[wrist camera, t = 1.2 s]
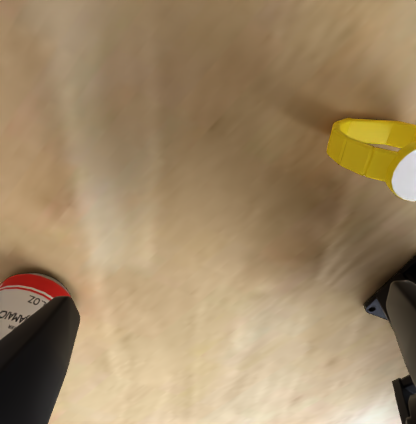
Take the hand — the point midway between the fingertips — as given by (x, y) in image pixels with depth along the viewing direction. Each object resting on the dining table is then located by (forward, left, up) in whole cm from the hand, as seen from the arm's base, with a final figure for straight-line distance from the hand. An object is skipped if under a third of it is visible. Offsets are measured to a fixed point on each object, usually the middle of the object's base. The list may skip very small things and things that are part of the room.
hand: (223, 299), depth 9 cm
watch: (-7, -4, -13) cm, 15 cm away
